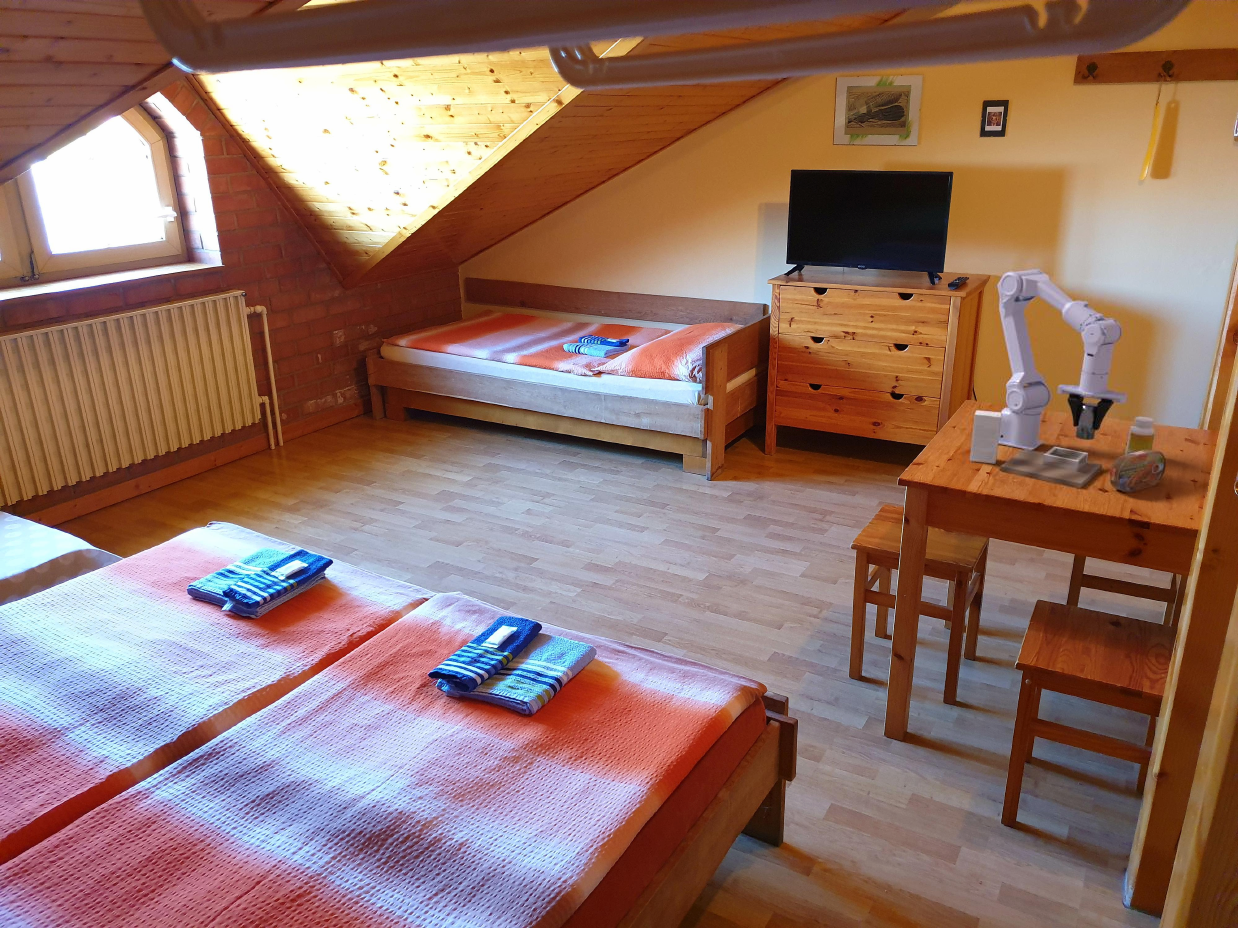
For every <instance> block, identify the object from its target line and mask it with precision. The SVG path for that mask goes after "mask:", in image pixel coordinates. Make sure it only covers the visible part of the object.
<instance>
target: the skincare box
mask: <svg viewBox="0 0 1238 928" xmlns="http://www.w3.org/2000/svg"><path fill="white" fill-rule="evenodd" d="M1001 412H1002V411H1001ZM1001 412H1000V411H999V412H997V411H989V410H988V411H986V410H978V409H977V410H975V413H974V419H973V429H972V435H971V436H972V438H971V446H970V447H971V448H970V457H969V462H978V463H985V464H986V463H988V464H993V465H994V464H996V462H997V458H998V451H999V450H998V449H999V444H998V443H999V434H1000V426H1001V417H1002V413H1001Z"/></svg>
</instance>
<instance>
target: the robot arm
mask: <svg viewBox="0 0 1238 928" xmlns="http://www.w3.org/2000/svg"><path fill="white" fill-rule="evenodd" d="M997 290H998V295H999V305H998V309H999V315H1000V319H1001V323H1002V324H1001V325H1002V329H1003V334H1004V335H1003V336H1004V339H1005V345H1006V350H1007V354H1008V359H1009V364H1010V370H1011V374H1012V376H1011V378H1010V379H1009V380H1008V381H1007V383H1006V385H1005V387H1006V397H1005V401H1006V405H1007V407H1004V408H1003V409H1002V410H1001V413H1002V417H1001V426H1000V434H999V443H998V445H1004V446H1008V447H1013V448H1019V449H1023V450H1024V449H1027V450H1032V451H1035V449H1036V448H1038V447H1039V446H1041V445H1042V444H1043V443H1044V441H1043V440H1040V439H1039V434H1040V429H1041V428H1040V427H1041V422H1042V415H1043V412H1044V411H1045V407H1047V406H1048V405H1049V404H1050V403H1051V399H1052V393H1051V390H1050V388H1049V385H1048V384H1047V383H1046V379H1045V377H1044V375H1042V374H1041V373H1040V372H1038V371H1037V368H1036V364H1035V359H1034V355H1033V348H1032V346H1031V340H1030V336H1029V334H1030V333H1029V331H1028V325H1027V319H1026V316H1025V309H1026V308H1027V306H1029V304H1030V303H1031V302H1032V301H1033V300H1034V299H1035V298H1037V297H1039V298H1040V299H1041V300H1043V301H1044V302H1046V303H1048V305H1050V306H1052V307H1053V308H1055V309H1057V310H1058V311H1059V312H1061V313H1062V314H1061V315H1062V320H1063V321H1064V322H1066V323H1067V324H1068V325H1069V326H1070V327H1072V329H1074V330H1076V331H1077V333H1079V334H1080V335H1081V338H1082V341H1083V346H1084V347H1083V350H1084V355H1083V362H1082V368H1081V373H1080V380H1079V385H1070V384H1059V385H1058V386H1057V395H1068V397H1067V403H1068V406H1069V409H1070V411H1071V415H1072V421H1073V423H1072V425H1073V427H1076V428H1077V424H1078V417H1079V411H1080V405H1081V403H1084V399H1085V398H1086V399H1087V398H1089V399H1093V400H1099V401H1098V402H1097V403H1096V404H1097V416H1096V421H1095V425H1094V430H1095V431H1098V430H1099V429H1100V428H1101V425H1102V423H1103V420H1104V418H1105V417H1106V415H1107V413H1108V412H1109V410H1110V409H1111V408H1112V406H1113V405H1114V403H1118V404H1121V405H1125V404H1126V403H1127V399H1128V393H1122V392H1118V391H1113V390H1110V389H1108V382H1109V376H1110V371H1111V366H1112V365H1111V364H1112V359H1113V354H1114V353H1113V352H1114V348H1115V343H1117V342H1119V341H1120V340H1121V337H1122V336H1123V335H1122V334H1123V328H1122V326H1121V324H1120V323H1119V322H1118V321H1117V319H1115V318H1112V317H1111V318H1106V317H1104V314H1102V313H1101V312H1100V313H1099V312H1097V311H1096V310H1094V309H1093V308H1092V307H1090V306H1089V305H1090V303H1089V302H1088V301H1086V300H1084V301H1082V300H1079V299H1078V300H1075V301H1074V300H1073V299H1072V298H1070V297H1069V296H1068V295H1067V294H1066V293H1065V292H1064V291H1062V290H1061V289H1060V288H1059V287H1058V286H1057V285H1056V284H1055V283H1054V282H1052V281H1051V280H1050V276H1049V275H1048V274H1046V273H1044V271H1042V270H1041V269H1037V268H1035V269H1029V270H1020V271H1008V272H1005V273H1004V274H1003V275H1002V277H1001V278H1000V281H999V282H998V283H997Z"/></svg>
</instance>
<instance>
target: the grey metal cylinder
mask: <svg viewBox="0 0 1238 928" xmlns="http://www.w3.org/2000/svg"><path fill="white" fill-rule="evenodd" d="M1096 416H1097V403H1094V402H1083V403H1081V405H1080V411H1079V417H1078V424H1077V427H1076V431H1075V438H1077V439H1079V440H1086V441H1091V440H1095V436H1096V430H1094V425H1095V421H1096Z"/></svg>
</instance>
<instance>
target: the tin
mask: <svg viewBox="0 0 1238 928" xmlns="http://www.w3.org/2000/svg"><path fill="white" fill-rule="evenodd" d="M1166 467H1167V462H1166V457H1165V455H1164V453H1163V452H1161V451H1159V450H1153V449H1152V450H1142V451H1138V452H1134V453H1129V454H1122V455H1120V456H1118V457H1117V458H1116V459H1115V461H1114V462H1113V464H1112V465H1111V469H1110V475H1109V482H1110V484H1111V487H1112V488H1114V489H1115V490H1118V491H1122V492H1124V493H1131V492H1135V491H1140V490H1144V489H1147V488H1151V487H1154V486H1156V485H1157V484H1158V483H1159V482H1160V481H1161V479H1162V478H1163V476H1164V473H1165V471H1166Z"/></svg>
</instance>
